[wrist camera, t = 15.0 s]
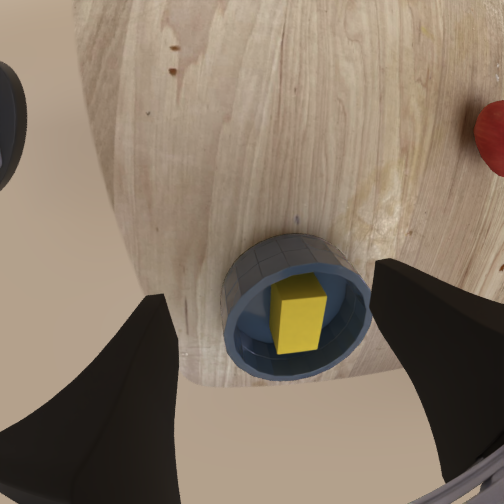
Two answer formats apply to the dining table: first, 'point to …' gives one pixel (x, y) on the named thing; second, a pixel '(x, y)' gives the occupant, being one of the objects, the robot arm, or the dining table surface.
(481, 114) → the onion
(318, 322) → the yellow block
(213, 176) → the dining table surface
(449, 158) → the dining table surface
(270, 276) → the bowl
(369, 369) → the dining table surface
